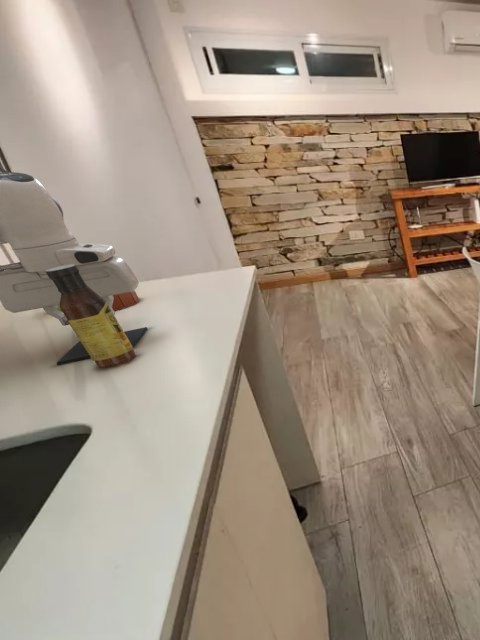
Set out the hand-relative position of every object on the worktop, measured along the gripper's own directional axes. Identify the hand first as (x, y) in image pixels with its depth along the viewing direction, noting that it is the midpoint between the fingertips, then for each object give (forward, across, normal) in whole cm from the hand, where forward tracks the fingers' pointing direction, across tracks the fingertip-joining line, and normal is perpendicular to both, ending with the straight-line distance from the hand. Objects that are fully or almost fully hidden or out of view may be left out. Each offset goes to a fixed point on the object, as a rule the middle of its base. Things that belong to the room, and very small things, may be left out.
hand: (90, 320), depth 101 cm
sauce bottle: (+6, +5, -12) cm, 15 cm away
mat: (+6, 0, 0) cm, 6 cm away
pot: (+6, -7, +34) cm, 35 cm away
